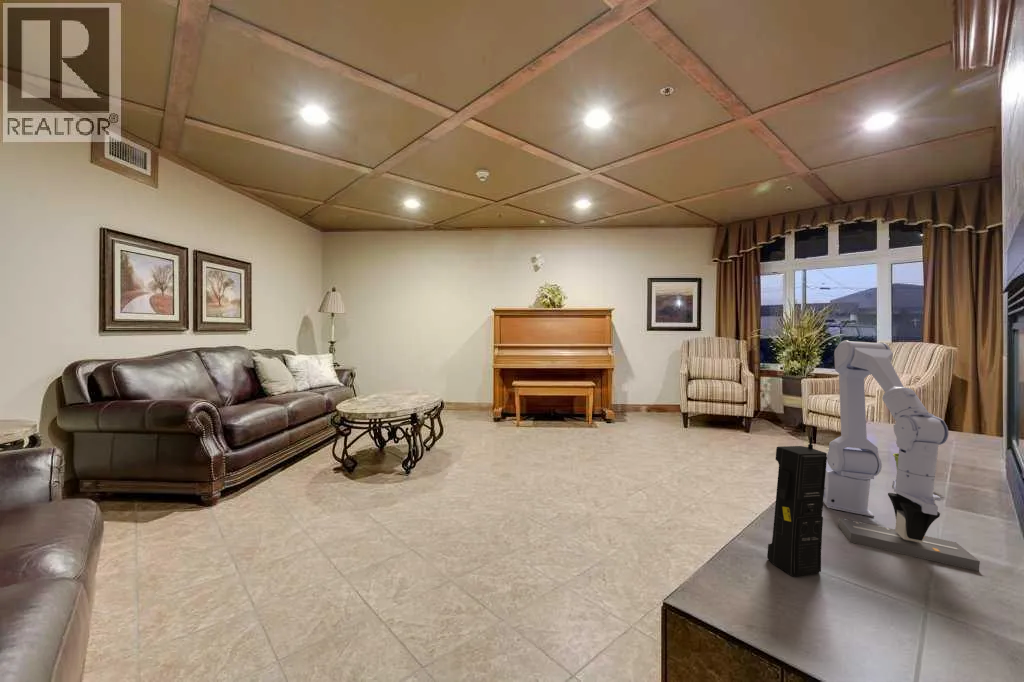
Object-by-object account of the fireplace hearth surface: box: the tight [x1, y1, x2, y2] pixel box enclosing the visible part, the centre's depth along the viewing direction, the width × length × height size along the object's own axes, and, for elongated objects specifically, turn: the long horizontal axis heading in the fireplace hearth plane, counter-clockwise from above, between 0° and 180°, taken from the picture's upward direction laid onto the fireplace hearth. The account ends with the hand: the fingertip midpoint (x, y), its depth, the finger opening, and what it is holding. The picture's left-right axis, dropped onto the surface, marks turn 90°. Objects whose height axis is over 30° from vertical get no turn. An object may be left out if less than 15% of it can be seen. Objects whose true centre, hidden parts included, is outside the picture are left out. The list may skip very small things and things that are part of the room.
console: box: [838, 517, 981, 572], centre depth 86 cm, size 20×8×2 cm, turn 65°
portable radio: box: [766, 435, 828, 577], centre depth 75 cm, size 8×6×25 cm
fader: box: [894, 510, 923, 543], centre depth 85 cm, size 3×4×5 cm
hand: (909, 533), depth 85 cm, fingers closed on fader, 4 cm apart
